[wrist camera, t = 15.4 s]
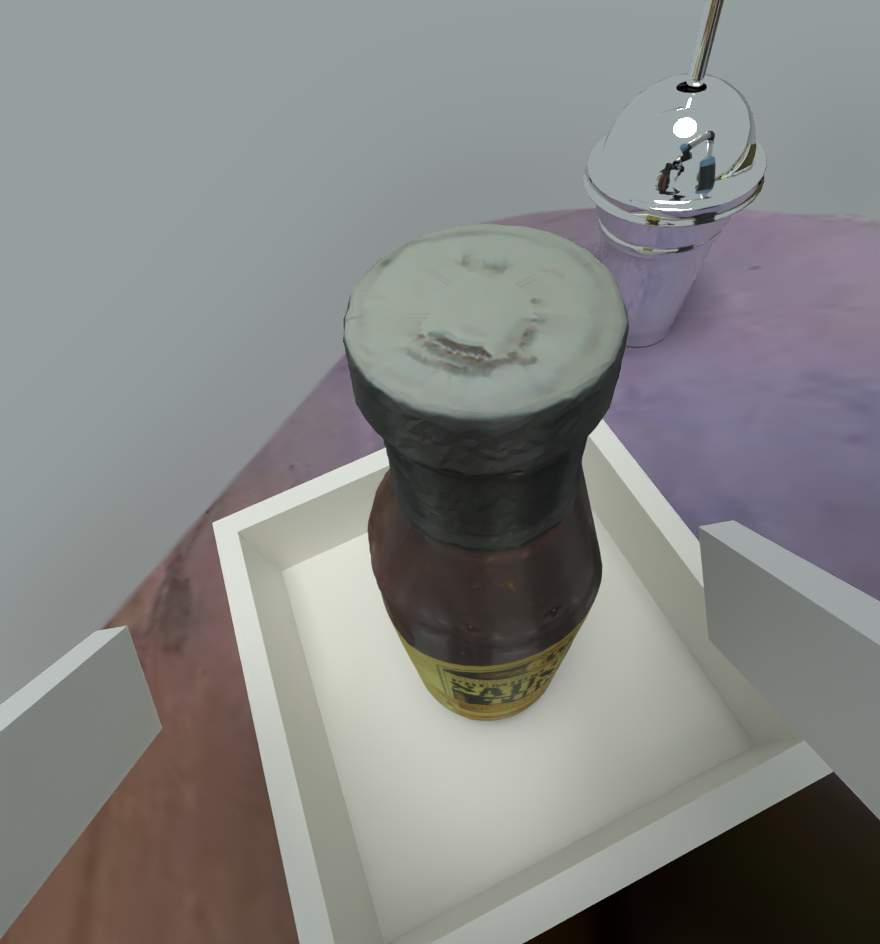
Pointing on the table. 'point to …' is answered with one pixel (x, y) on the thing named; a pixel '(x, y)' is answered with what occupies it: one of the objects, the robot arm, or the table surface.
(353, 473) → the box
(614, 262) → the cup with straw
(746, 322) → the table surface
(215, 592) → the table surface
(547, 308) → the sauce bottle
